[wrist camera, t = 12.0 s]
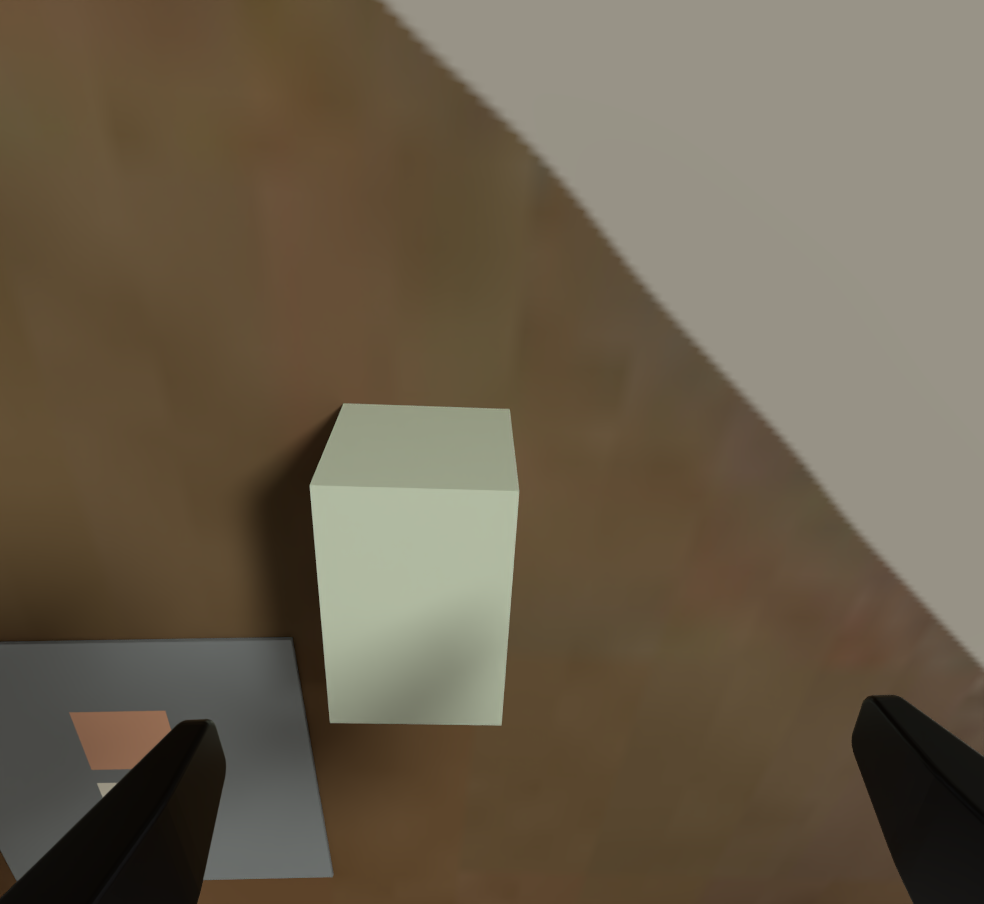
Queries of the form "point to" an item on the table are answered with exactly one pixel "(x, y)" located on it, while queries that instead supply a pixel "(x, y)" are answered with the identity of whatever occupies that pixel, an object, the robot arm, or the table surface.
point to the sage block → (416, 562)
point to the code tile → (142, 725)
